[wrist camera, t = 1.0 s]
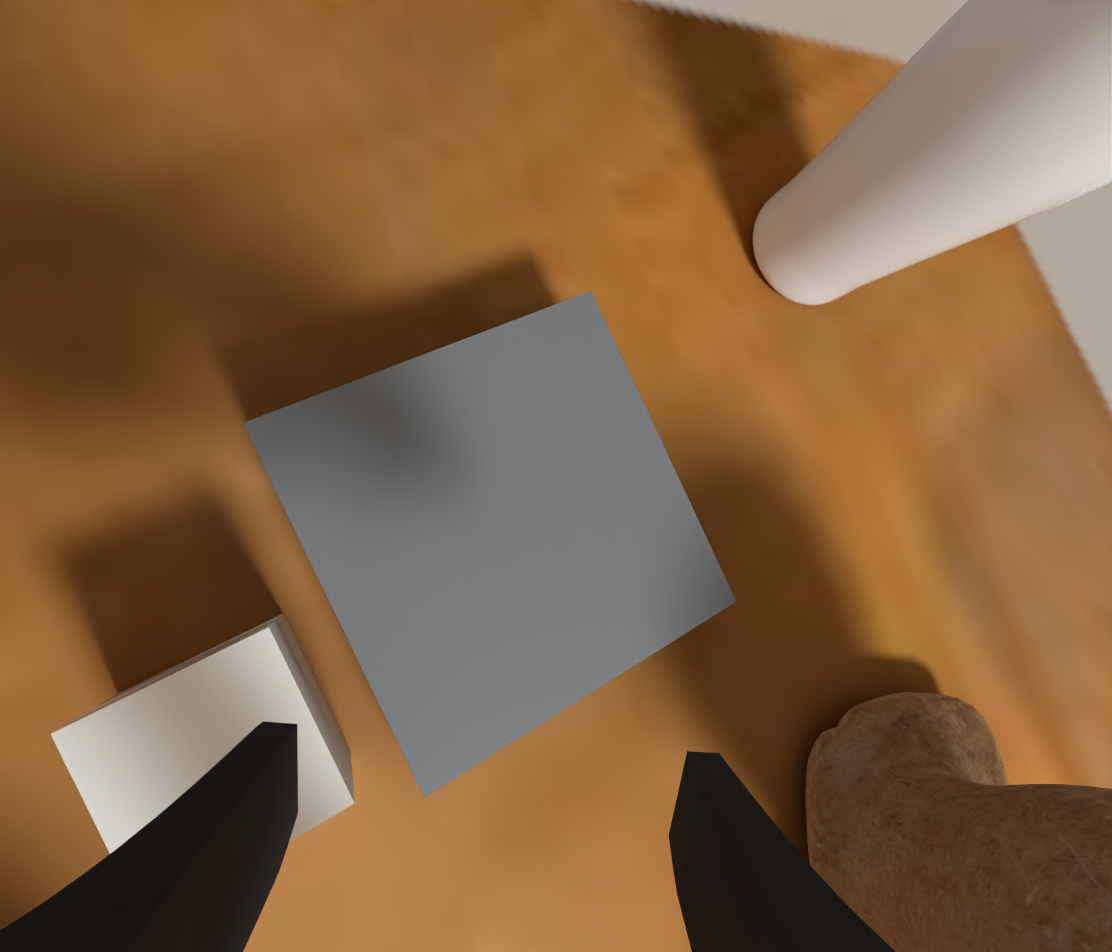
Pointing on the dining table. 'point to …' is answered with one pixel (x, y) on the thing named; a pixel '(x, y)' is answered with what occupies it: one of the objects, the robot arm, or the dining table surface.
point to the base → (493, 530)
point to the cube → (205, 733)
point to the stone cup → (954, 835)
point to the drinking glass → (950, 148)
